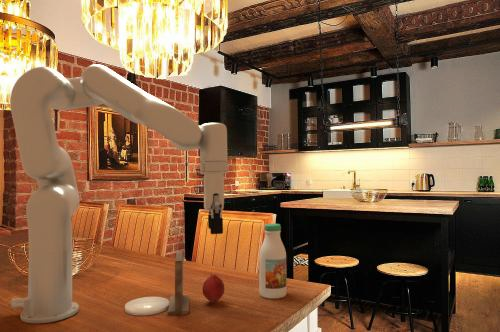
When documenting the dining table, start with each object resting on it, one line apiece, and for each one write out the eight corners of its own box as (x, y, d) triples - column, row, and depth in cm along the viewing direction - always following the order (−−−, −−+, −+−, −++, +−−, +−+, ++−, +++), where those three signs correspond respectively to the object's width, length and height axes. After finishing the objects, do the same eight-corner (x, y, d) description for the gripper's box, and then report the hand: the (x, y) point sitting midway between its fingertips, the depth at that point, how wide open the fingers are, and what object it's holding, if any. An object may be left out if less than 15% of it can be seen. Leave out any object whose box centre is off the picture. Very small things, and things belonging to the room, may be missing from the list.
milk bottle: (255, 297, 104) (255, 225, 104) (264, 289, 111) (264, 222, 111) (282, 300, 101) (281, 226, 101) (289, 292, 108) (289, 223, 108)
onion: (213, 297, 103) (213, 268, 104) (228, 302, 100) (228, 272, 100) (198, 303, 99) (198, 273, 99) (213, 308, 95) (213, 276, 95)
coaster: (121, 316, 90) (121, 312, 90) (129, 301, 100) (129, 297, 100) (167, 314, 91) (167, 310, 91) (170, 299, 102) (170, 295, 102)
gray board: (167, 315, 91) (167, 261, 91) (170, 298, 103) (170, 251, 103) (188, 313, 91) (188, 260, 92) (189, 297, 103) (189, 250, 104)
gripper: (199, 169, 110) (200, 227, 110) (201, 168, 93) (202, 237, 93) (224, 168, 111) (225, 226, 111) (231, 167, 94) (232, 235, 94)
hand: (215, 231), depth 102 cm, fingers open, 9 cm apart
